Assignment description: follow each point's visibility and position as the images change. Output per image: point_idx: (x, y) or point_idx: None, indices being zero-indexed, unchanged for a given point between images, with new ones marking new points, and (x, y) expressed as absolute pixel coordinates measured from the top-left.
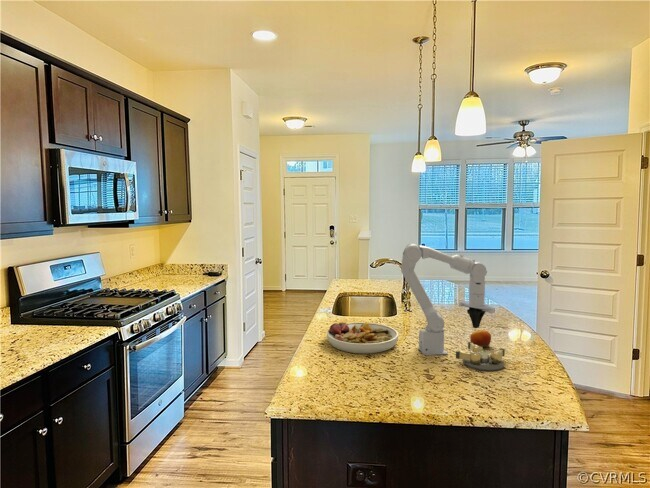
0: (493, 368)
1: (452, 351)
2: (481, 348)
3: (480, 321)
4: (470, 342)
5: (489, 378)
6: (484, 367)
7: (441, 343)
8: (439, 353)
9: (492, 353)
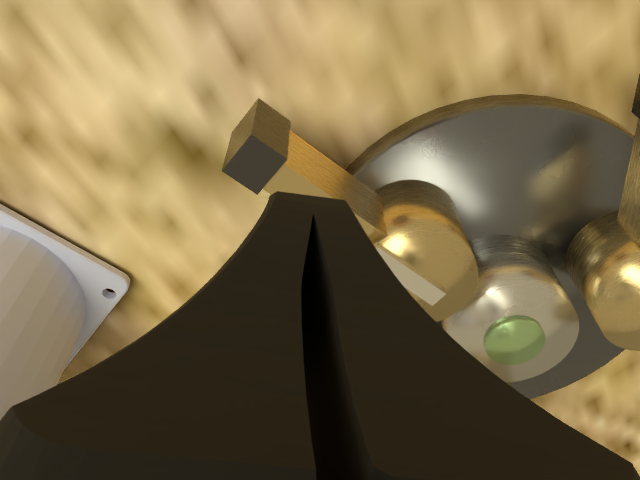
0: (610, 353)
1: (98, 174)
2: (472, 290)
3: (388, 277)
4: (259, 172)
5: (600, 438)
6: (547, 389)
7: (53, 379)
8: (90, 334)
9: (619, 343)
